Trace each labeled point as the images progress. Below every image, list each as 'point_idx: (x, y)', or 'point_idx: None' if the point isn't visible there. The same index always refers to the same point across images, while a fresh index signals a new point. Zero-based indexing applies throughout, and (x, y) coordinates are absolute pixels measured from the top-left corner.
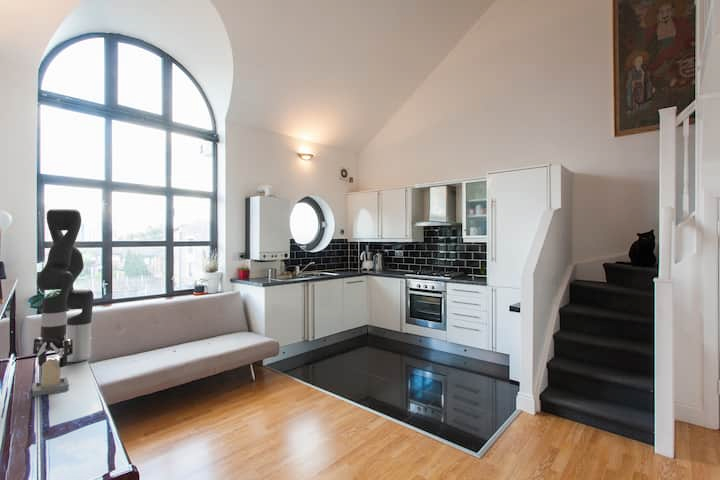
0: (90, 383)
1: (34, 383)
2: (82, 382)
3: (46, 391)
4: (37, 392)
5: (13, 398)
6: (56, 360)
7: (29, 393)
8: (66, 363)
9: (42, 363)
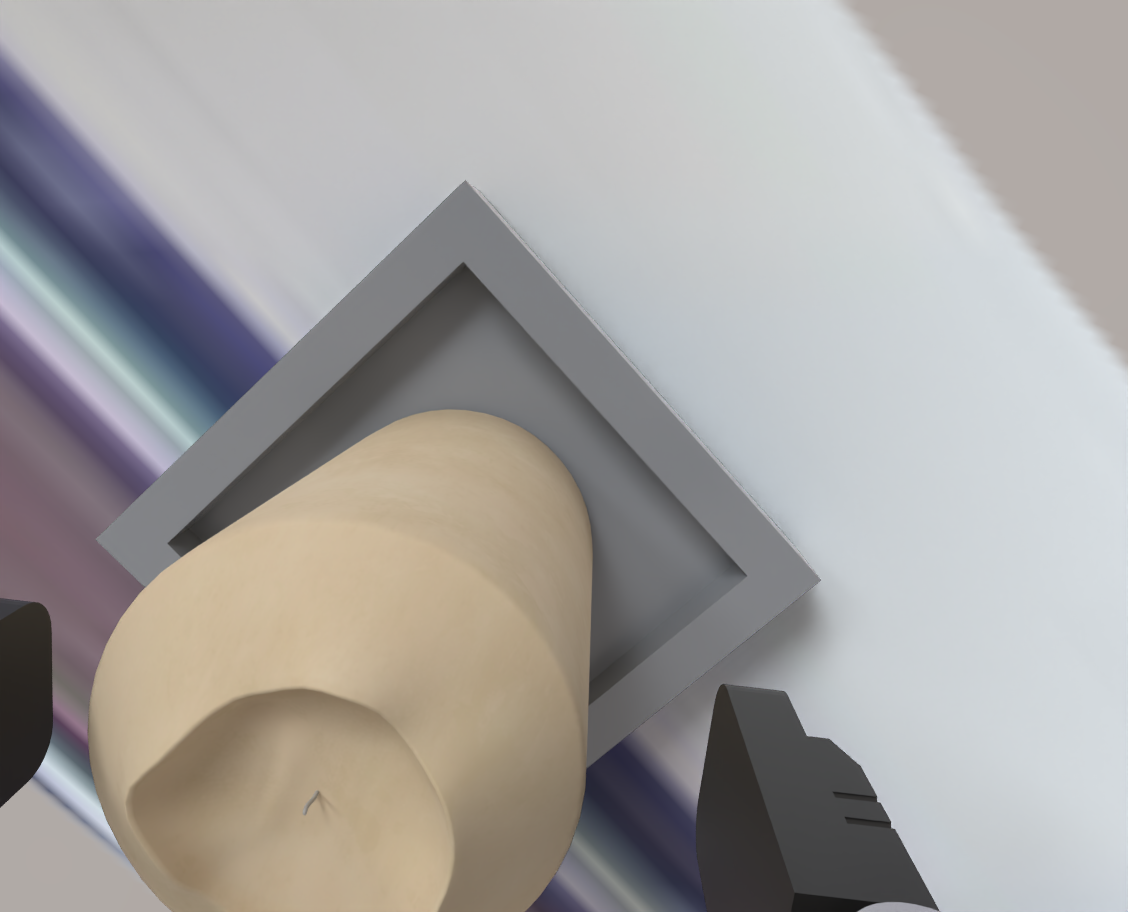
0: (982, 223)
1: (142, 553)
2: (792, 178)
3: None
4: None
5: None
6: (466, 811)
7: None
8: (860, 782)
9: (9, 734)
